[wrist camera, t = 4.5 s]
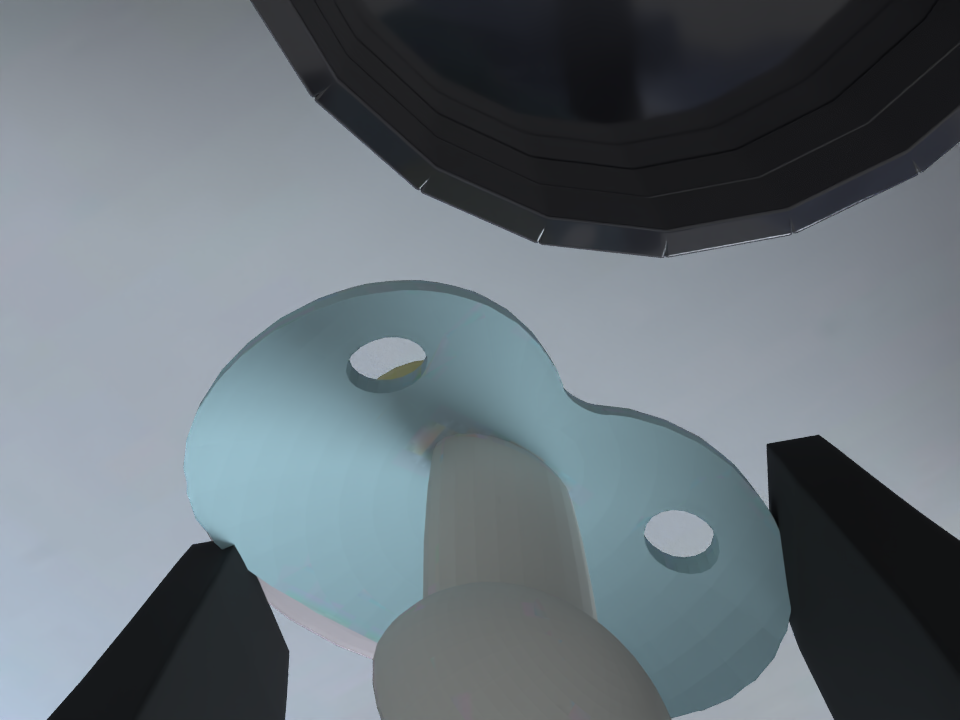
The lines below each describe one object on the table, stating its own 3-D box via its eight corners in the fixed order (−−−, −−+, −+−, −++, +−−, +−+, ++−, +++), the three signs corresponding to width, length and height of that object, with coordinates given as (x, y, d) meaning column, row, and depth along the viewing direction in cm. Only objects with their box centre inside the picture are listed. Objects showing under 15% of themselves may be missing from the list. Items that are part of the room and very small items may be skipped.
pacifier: (531, 698, 15) (805, 463, 12) (564, 1201, 10) (1057, 969, 7) (112, 495, 13) (343, 154, 10) (-151, 1010, 7) (200, 561, 5)
